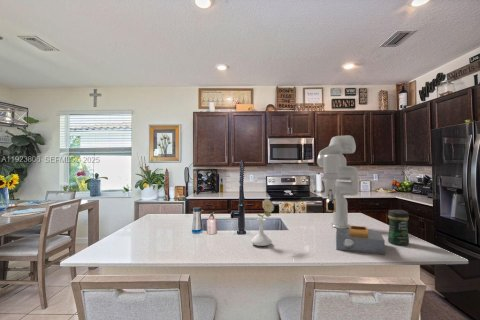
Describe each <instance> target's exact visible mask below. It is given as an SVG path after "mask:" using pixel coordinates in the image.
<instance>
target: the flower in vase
mask: <svg viewBox="0 0 480 320" xmlns="http://www.w3.org/2000/svg"><path fill="white" fill-rule="evenodd" d="M261 206H262V208H263V210H264V212H263V215H262V214H260V213H257V216H259V217H260V218H257V219H256V221H257V223H258V229H259V230H258V233H257V234H256V235H254V237H252V238H251V240H250V243H252V245H254V246H258V247H265V246H269V245H271V244H272V243H273V241H272V239H271V238H270V237H269V236H267V235H266V234H265V232H264V225H265V223H266V220H267V219H265V218H264V216H266V217H267V218H269V217H271V216H272V214H271V213H272V212H273V211H274V210H275V205H274V203H273V201H271V200H270V199H268V198H265V199H264V200H262V204H261Z"/></svg>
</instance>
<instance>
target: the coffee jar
mask: <svg viewBox="0 0 480 320" xmlns="http://www.w3.org/2000/svg"><path fill="white" fill-rule="evenodd" d="M409 215H410V214H409V211H407V210H404V209H389V210H388V214H387V218H388V220H389V222H388V223H389V225H388V236H387V241H388V243H389V244H391V245H397V246H408V245H409V244H410V237H409V229H408V227H409V226H408V221H409V218H410V216H409Z"/></svg>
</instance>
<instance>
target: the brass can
mask: <svg viewBox="0 0 480 320" xmlns="http://www.w3.org/2000/svg"><path fill="white" fill-rule="evenodd" d="M325 203H326V205H325V206H326V210H325V211H326V212H330V213H333V212H336V199H335V198H334V200H333V203H334V211H331V210H328V197H326V202H325Z"/></svg>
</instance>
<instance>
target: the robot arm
mask: <svg viewBox="0 0 480 320" xmlns="http://www.w3.org/2000/svg"><path fill="white" fill-rule="evenodd" d="M356 148H357V145H356V141H355V138H354V136H353V135H347V134H346V135H336V136H333V137H331V139H330V141H329V144H328V146H327V147H324V148H322V149H321V150H320V151H319V152H318V156H317V159H316V163H317V166H318V167H319V168H323V180H325V182H324V183H325V188H324V189H325V193H324V194H325V196H324V197H325V198H328V210H331V211H334V203H333V200H334V198H335V199H336V212H332V215H333V216H332V218H333V220H332V221H333V222H332V223H331V224H330V225H331V226H330V227H332V228H335V229H337V228H344V229H349V225H350V224H349V221H348V220H349V219H348V216H349V215H348V214H349V213H348V210H349V209H348V201H347V198H346V197H345V196H351V197H353V196H354V197H355V196H358V195H359V186H360V185H359V170H358V168H357V167H356V166H348V165H347V158H346V157H345V156H344V154H354V153H355V152H356ZM336 180H341V181H336Z"/></svg>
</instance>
